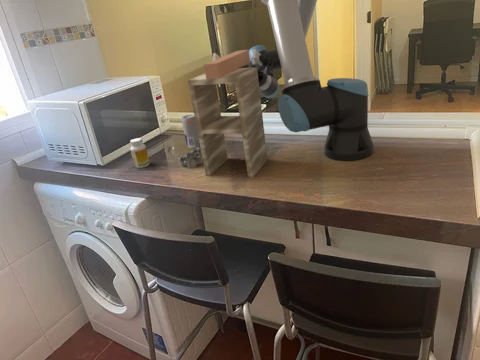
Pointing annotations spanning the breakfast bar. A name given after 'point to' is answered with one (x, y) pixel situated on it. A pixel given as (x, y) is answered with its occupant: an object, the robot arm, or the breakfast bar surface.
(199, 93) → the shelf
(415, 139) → the breakfast bar surface
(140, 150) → the supplement bottle
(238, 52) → the bar
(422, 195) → the breakfast bar surface
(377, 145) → the breakfast bar surface
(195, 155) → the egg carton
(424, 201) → the breakfast bar surface
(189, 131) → the energy drink
